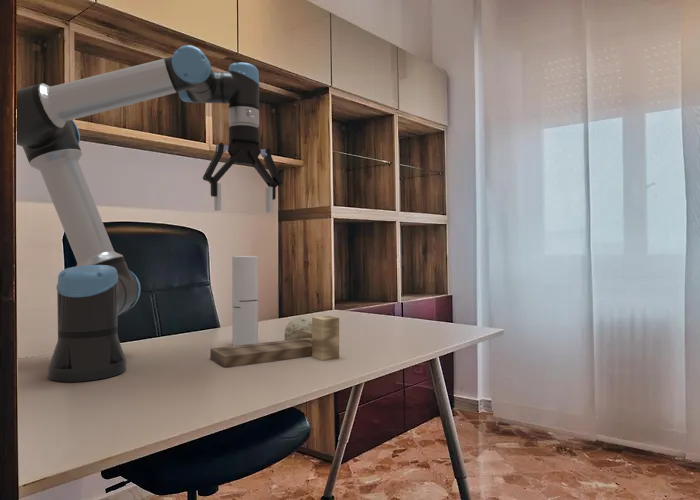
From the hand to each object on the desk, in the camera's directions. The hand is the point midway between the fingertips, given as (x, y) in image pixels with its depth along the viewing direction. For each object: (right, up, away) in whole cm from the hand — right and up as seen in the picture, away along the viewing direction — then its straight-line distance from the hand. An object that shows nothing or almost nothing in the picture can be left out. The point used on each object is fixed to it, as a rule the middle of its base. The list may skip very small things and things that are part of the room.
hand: (244, 211), depth 127 cm
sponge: (+13, -37, +18) cm, 43 cm away
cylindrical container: (-3, -37, +16) cm, 40 cm away
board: (+8, -37, +1) cm, 38 cm away
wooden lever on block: (+18, -37, +3) cm, 41 cm away
